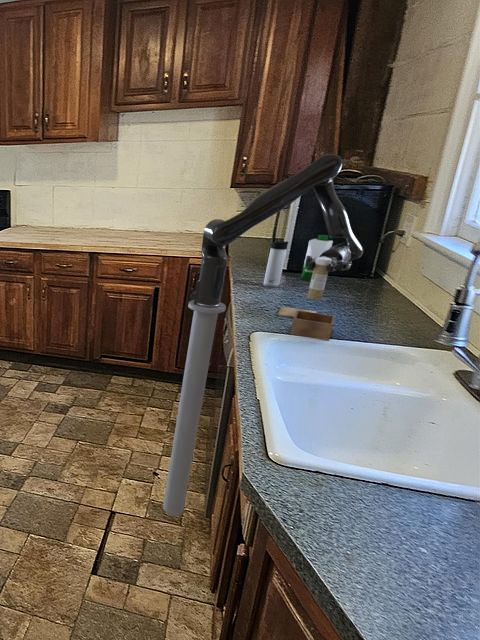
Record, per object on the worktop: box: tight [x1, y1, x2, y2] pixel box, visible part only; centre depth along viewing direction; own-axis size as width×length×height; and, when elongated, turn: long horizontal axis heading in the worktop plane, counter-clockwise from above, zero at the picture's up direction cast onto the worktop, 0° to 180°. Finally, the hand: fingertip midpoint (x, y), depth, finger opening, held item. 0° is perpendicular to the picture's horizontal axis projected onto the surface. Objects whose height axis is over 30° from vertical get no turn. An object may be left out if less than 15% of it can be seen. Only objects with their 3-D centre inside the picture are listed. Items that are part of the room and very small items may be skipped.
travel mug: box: [262, 241, 289, 289], centre depth 230 cm, size 6×7×20 cm
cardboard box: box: [289, 310, 336, 342], centre depth 175 cm, size 11×11×6 cm
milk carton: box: [300, 234, 334, 282], centre depth 242 cm, size 9×9×20 cm
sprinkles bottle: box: [306, 257, 332, 300], centre depth 174 cm, size 5×5×13 cm
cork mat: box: [276, 306, 318, 319], centre depth 195 cm, size 12×12×1 cm
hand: (320, 267), depth 170 cm, fingers closed on sprinkles bottle, 4 cm apart
